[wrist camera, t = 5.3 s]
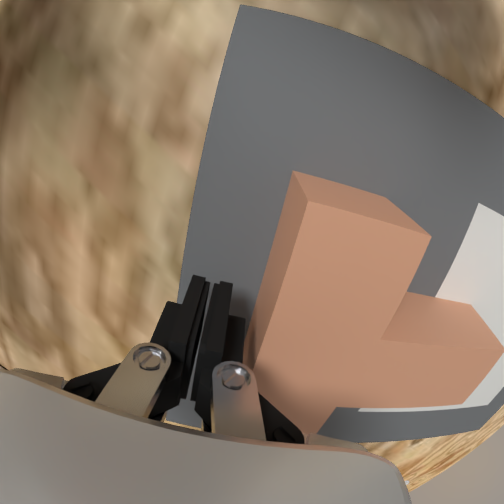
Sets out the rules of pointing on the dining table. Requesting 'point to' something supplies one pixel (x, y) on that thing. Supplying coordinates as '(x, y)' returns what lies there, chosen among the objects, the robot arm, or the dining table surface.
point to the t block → (356, 313)
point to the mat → (350, 184)
